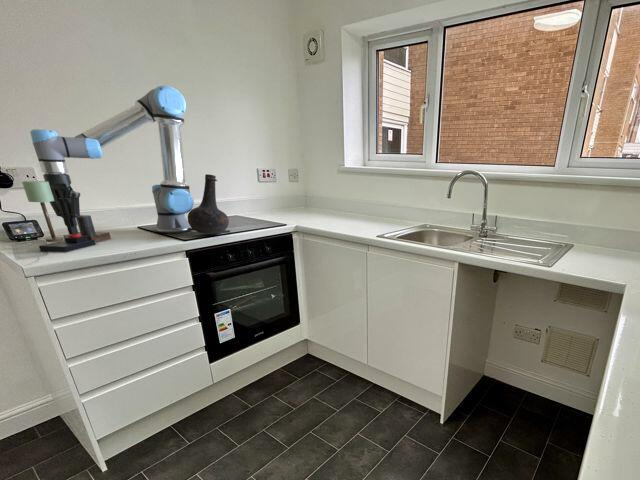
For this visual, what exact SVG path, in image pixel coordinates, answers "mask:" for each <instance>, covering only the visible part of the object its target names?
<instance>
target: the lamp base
mask: <svg viewBox="0 0 640 480" xmlns="http://www.w3.org/2000/svg"><path fill="white" fill-rule="evenodd" d="M96 245H97V244H96V243H95V240H90V239H87V236H86V235H81V237H69V236H65V237H64V236H63V240H62V241H58V242H49V243H46V244H41V245H38V248H39V250H40V252H46V253H48V252H49V253H68V252H72V251H76V250H79V249H84V248H88V247H92V246H96Z"/></svg>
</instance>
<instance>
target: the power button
mask: <svg viewBox="0 0 640 480" xmlns="http://www.w3.org/2000/svg"><path fill="white" fill-rule="evenodd" d="M67 235H68V234H67ZM68 236H69V237H81V234H74V235H68Z"/></svg>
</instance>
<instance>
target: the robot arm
mask: <svg viewBox="0 0 640 480" xmlns="http://www.w3.org/2000/svg"><path fill="white" fill-rule="evenodd" d="M186 110H187V102H186V99H185V97H184V95H183V94H182V93H181V92H180V91H179V90H178V89H176V88H174V87H172V86H170V85H158V86H156V87H155V88H153V89H150V90H149V92H147V93H145V95H143V96H142V97H141V98H139V99H138V100H135V102H134V104H133V105H132V106H131V107H128V108H127V109H125V110H123V111H121V112H119V113H117V114H115V115H113V116H111V117H110V118H108V119H106V120H104V121H102V122H100V123H98V124H96V125H94V126H93V127H92V126H91V127H90V128H89V129H86V130H85V131H83V132H81V133H79V134H78V135H75V136H74V137H71V136H60V135H59V134H58V132H57V131H56V130H52V129H39V128H38V129H36V128H35V129H31V130H30V132H29V134H30V137H31V142H32V145H33V148H34V151H35V154H36V157H37V160H38V163H39V168H40V171H41V172H42V173H43V174H42V176H43V181H48V182H49V185H50V188H51V191H52V194H53V198H54V201H51V202H49V204H50V206H51V207H52V209H53V211H54V213H55V216H56V217H60V218H62V220H63V224H64V226H65V227H66V229H67V231H68V234H69V235H74V234H79V233H78V232H79V229H78V224H77V220H76V217H78V216H80V215H81V209H80V197H81V192H79V191H78V192H77V191H75V190H74V189H73V187H72V186H71V185H72V179H71V176H70V175H69V174H68V173H69V169H68V167H67V164H66V163H67V162H66V160H65V158H68V159H69V158H71V159H72V158H73V159H91V160H95V159H102V158H103V152H102V148H104V147H106V146H108V145H109V144H111V143H114V142H116V141H117V140H119V139H121V138H122V137H124V136H126V135H128V134H130V133H131V132H134V131H136V130H137V129H139V128H141V127H142V126H145V125H146V124H148V123H151V124H153V123H157V126H158V135H159V137H158V138H159V145H160V146H159V147H160V155H161V157H160V158H161V165H162V176H163V179H162V181H161V182H160V184H154V185H152V186H151V190H152V191H151V192H152V194H153V196H152V197H153V201H154V204H155V208H156V209H155V210H156V214H157V220H156V221H157V222H156V227H155V229H156V232H157V233H159V234H181V233H183V234H184V233H189V232H191V231H195V230H194V229H192V227H191V226H190V225H189V223H188V218H186V214H189V212H190V211H191V210H192V209H194V204H195V203H194V198H193V196H192V194H191V190H190V185H189V183H188V182H186V173H185V163H184V162H185V160H184V152H183V151H184V148H183V139H182V138H183V137H182V126H183V125H185V112H186ZM223 233H231V230H230V229H226V230H225V231H224V232H223Z"/></svg>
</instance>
